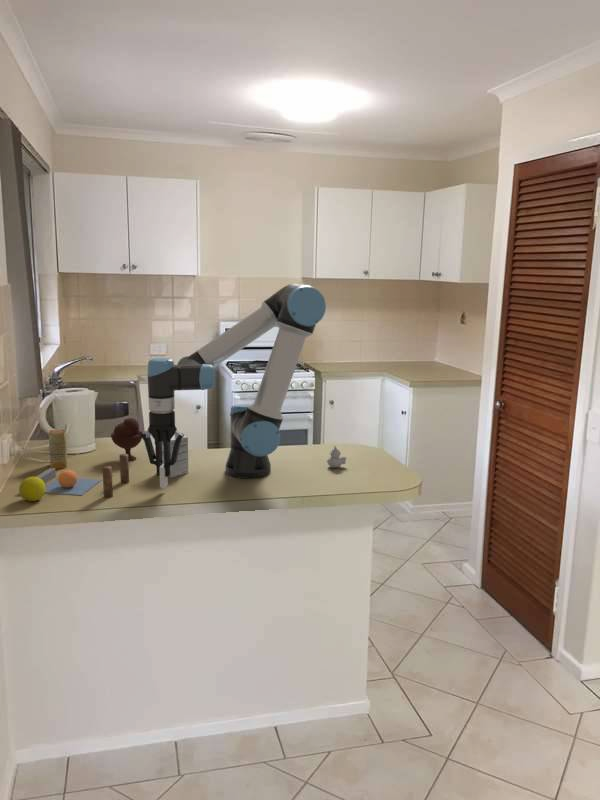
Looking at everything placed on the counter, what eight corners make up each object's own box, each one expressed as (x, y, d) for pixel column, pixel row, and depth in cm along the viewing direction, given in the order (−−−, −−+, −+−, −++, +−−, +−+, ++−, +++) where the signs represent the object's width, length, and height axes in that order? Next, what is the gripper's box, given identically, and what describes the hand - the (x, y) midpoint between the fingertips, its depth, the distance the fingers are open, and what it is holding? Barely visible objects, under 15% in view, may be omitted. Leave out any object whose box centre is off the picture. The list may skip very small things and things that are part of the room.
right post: (130, 481, 207) (129, 454, 205) (127, 483, 205) (126, 456, 203) (122, 480, 208) (121, 453, 206) (119, 483, 205) (118, 456, 203)
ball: (73, 488, 204) (83, 475, 202) (65, 493, 198) (75, 481, 197) (60, 476, 203) (70, 464, 202) (51, 482, 198) (61, 469, 197)
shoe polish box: (67, 463, 224) (65, 429, 221) (66, 467, 219) (64, 433, 217) (52, 464, 223) (49, 430, 220) (50, 468, 218) (48, 434, 215)
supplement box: (157, 472, 216) (156, 436, 213) (175, 468, 221) (174, 432, 219) (170, 478, 211) (169, 440, 208) (189, 473, 216) (188, 436, 214)
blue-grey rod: (55, 476, 211) (55, 468, 210) (29, 493, 195) (28, 485, 195) (50, 475, 211) (49, 468, 211) (23, 492, 196) (22, 484, 195)
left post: (114, 495, 195) (113, 466, 193) (110, 498, 193) (109, 469, 191) (106, 494, 195) (104, 465, 194) (102, 497, 193) (101, 468, 191)
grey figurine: (325, 465, 227) (326, 443, 226) (344, 464, 228) (345, 442, 226) (328, 470, 222) (329, 447, 220) (347, 469, 223) (348, 447, 221)
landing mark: (101, 480, 208) (101, 479, 208) (81, 495, 194) (81, 494, 194) (60, 477, 210) (60, 476, 210) (37, 492, 196) (37, 491, 196)
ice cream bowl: (134, 453, 237) (132, 413, 234) (149, 460, 229) (148, 418, 226) (106, 458, 230) (104, 417, 226) (122, 466, 222) (120, 423, 218)
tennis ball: (42, 504, 187) (40, 481, 185) (16, 504, 186) (14, 481, 185) (49, 495, 194) (47, 473, 192) (24, 496, 193) (23, 473, 192)
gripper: (135, 412, 190) (138, 489, 195) (179, 414, 188) (180, 491, 193) (145, 406, 197) (147, 480, 202) (186, 408, 196) (188, 483, 201)
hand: (163, 486), depth 198 cm, fingers closed
